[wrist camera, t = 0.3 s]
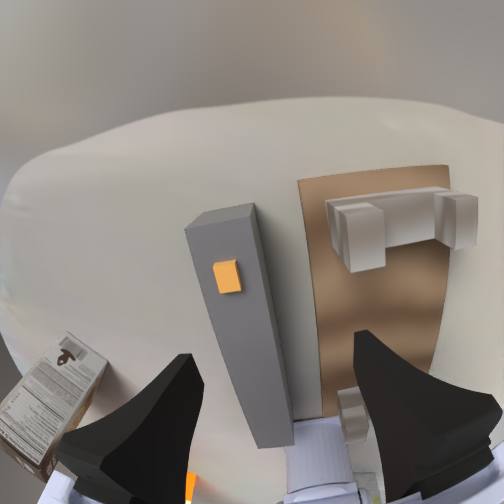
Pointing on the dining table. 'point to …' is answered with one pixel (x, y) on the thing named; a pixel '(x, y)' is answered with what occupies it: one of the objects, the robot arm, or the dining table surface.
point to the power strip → (244, 318)
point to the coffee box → (49, 404)
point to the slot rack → (380, 270)
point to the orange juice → (189, 486)
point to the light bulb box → (368, 485)
